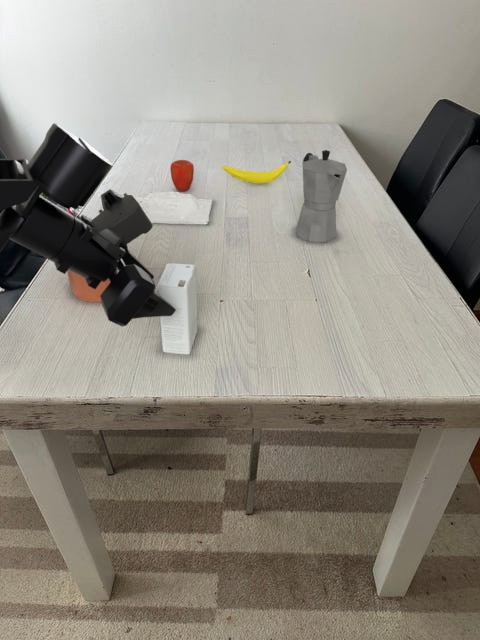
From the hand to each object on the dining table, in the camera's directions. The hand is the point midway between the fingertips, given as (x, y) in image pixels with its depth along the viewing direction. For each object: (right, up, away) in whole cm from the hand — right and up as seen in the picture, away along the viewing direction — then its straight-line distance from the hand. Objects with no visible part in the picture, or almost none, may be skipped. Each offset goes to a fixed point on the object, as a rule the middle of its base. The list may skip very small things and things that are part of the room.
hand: (162, 294), depth 61 cm
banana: (+15, +35, +63) cm, 73 cm away
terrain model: (-7, +23, +46) cm, 52 cm away
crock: (-14, +3, +19) cm, 24 cm away
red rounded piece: (-5, +32, +58) cm, 67 cm away
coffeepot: (+27, +16, +38) cm, 50 cm away
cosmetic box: (+2, -7, +6) cm, 10 cm away
